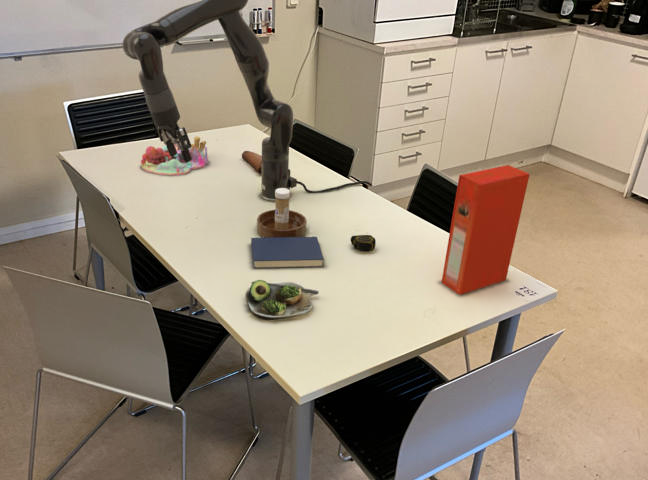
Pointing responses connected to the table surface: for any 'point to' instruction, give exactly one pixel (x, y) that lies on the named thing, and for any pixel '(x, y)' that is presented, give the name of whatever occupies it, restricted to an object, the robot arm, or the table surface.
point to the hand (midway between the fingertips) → (181, 158)
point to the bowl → (294, 225)
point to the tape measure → (363, 242)
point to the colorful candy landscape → (174, 159)
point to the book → (286, 252)
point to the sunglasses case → (253, 160)
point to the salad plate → (278, 300)
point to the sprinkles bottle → (282, 208)
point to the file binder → (483, 227)
